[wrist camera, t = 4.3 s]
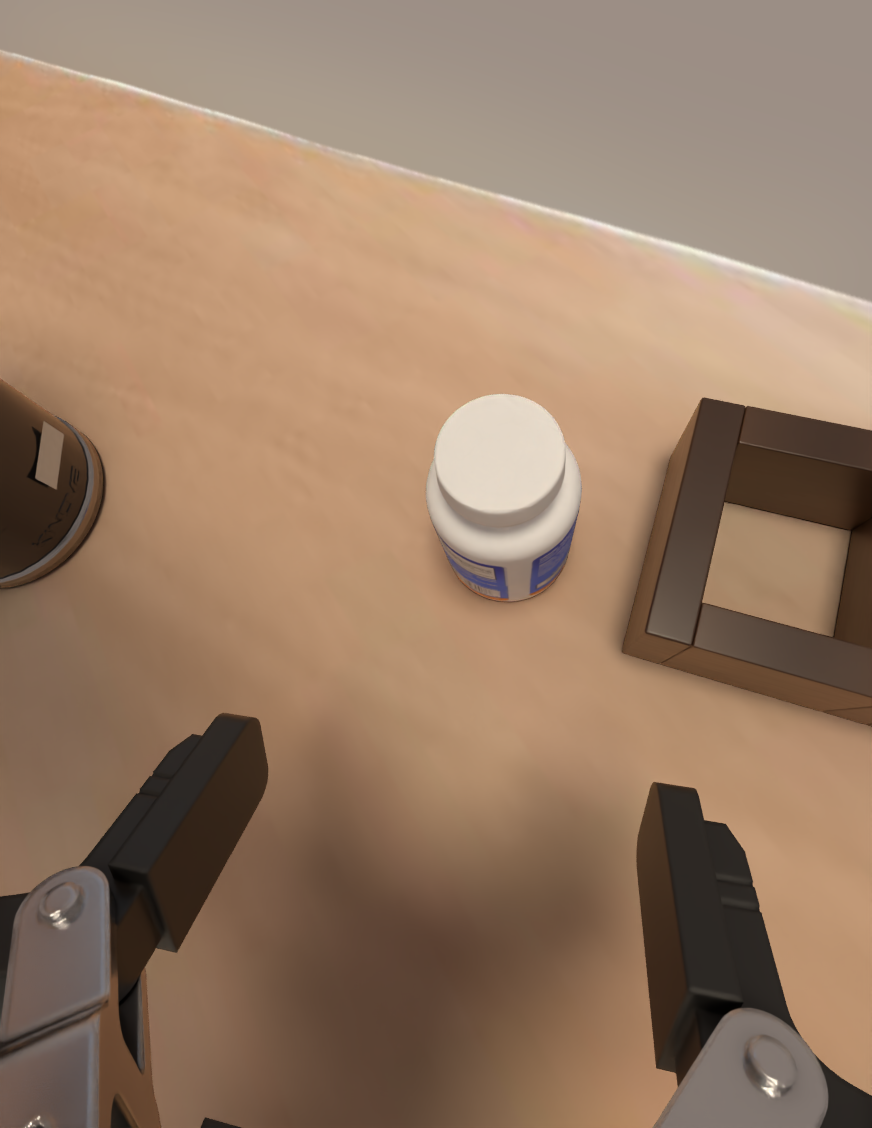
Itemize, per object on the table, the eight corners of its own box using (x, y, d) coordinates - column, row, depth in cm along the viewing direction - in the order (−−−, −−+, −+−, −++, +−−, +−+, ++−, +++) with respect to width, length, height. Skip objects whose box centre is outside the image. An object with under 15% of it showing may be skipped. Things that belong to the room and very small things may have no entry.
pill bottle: (551, 479, 28) (566, 350, 19) (582, 590, 26) (615, 508, 17) (437, 506, 28) (396, 393, 19) (461, 617, 27) (428, 552, 17)
